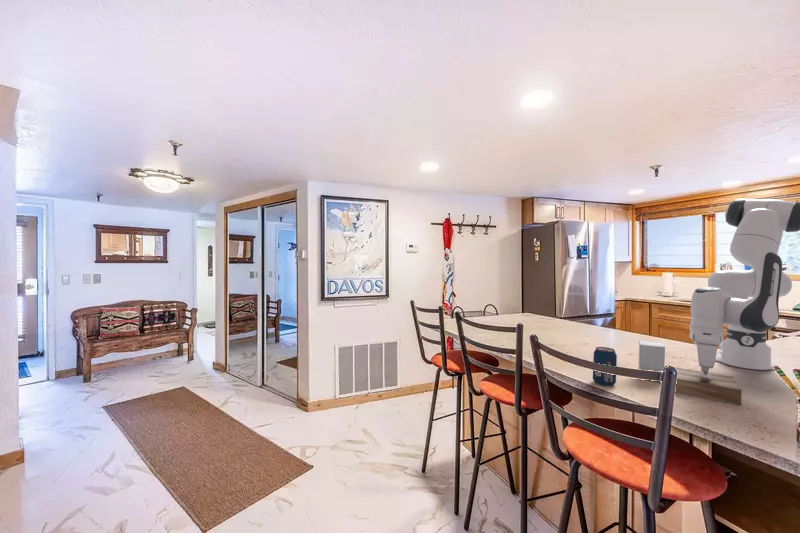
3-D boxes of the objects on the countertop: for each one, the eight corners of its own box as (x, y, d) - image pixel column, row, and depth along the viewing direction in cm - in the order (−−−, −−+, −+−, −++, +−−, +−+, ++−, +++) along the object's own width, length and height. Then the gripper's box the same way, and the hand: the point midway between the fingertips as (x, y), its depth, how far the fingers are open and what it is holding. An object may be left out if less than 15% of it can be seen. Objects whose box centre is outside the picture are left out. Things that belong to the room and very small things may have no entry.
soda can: (601, 379, 130) (602, 345, 130) (620, 385, 124) (621, 350, 124) (588, 381, 127) (589, 347, 127) (606, 388, 121) (608, 352, 121)
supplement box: (662, 377, 134) (663, 342, 133) (664, 383, 127) (665, 346, 127) (637, 373, 138) (639, 340, 137) (638, 379, 131) (639, 344, 131)
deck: (675, 374, 138) (676, 362, 138) (733, 383, 128) (733, 370, 128) (673, 392, 119) (674, 378, 119) (740, 405, 109) (741, 390, 109)
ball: (698, 381, 121) (698, 380, 124) (712, 384, 119) (711, 382, 122) (698, 371, 121) (698, 369, 124) (712, 373, 119) (711, 371, 122)
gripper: (693, 329, 135) (692, 366, 135) (694, 338, 119) (693, 380, 119) (716, 331, 131) (715, 370, 131) (720, 341, 115) (718, 385, 115)
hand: (704, 375), depth 125 cm, fingers closed
